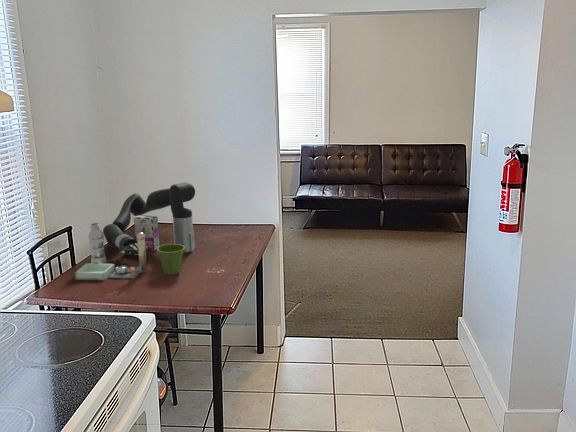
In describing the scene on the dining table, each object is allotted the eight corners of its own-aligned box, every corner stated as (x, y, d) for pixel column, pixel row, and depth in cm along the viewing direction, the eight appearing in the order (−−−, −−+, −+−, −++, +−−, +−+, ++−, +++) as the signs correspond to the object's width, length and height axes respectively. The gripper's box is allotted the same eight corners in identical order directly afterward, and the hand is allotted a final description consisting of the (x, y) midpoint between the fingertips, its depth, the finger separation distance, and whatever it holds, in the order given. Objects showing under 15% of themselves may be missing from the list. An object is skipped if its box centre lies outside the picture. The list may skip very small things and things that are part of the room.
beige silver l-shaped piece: (115, 274, 232) (112, 236, 227) (115, 270, 236) (112, 233, 232) (147, 271, 235) (145, 233, 231) (147, 267, 240) (144, 230, 236)
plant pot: (162, 279, 229) (160, 253, 227) (155, 270, 240) (153, 246, 237) (189, 274, 235) (188, 249, 232) (181, 266, 245) (180, 242, 242)
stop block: (135, 274, 235) (134, 266, 234) (135, 276, 233) (134, 269, 232) (131, 274, 235) (130, 267, 234) (131, 277, 232) (130, 269, 231)
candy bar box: (160, 248, 271) (158, 216, 267) (154, 251, 267) (152, 218, 262) (141, 245, 275) (139, 214, 271) (135, 248, 271) (132, 216, 266)
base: (141, 271, 238) (140, 269, 238) (134, 278, 231) (134, 276, 230) (116, 271, 239) (116, 269, 239) (109, 277, 231) (109, 275, 231)
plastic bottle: (110, 265, 246) (106, 223, 241) (99, 270, 241) (94, 226, 236) (99, 263, 249) (95, 221, 244) (88, 268, 243) (83, 225, 238)
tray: (115, 270, 240) (114, 263, 239) (104, 280, 229) (103, 273, 228) (87, 270, 241) (86, 263, 240) (75, 279, 230) (74, 272, 229)
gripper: (140, 248, 255) (157, 259, 242) (113, 254, 247) (129, 265, 234) (139, 233, 253) (156, 243, 240) (112, 238, 245) (128, 249, 232)
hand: (143, 254), depth 237 cm, fingers closed
